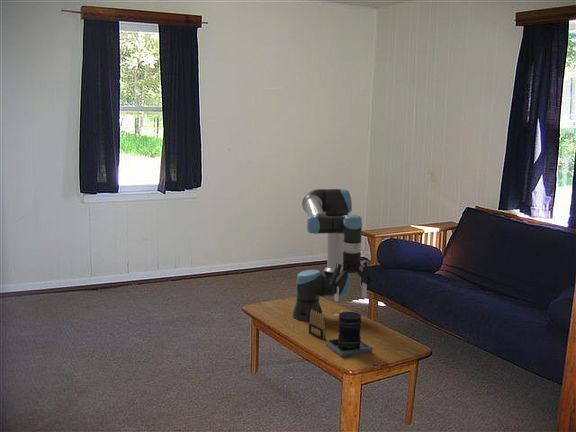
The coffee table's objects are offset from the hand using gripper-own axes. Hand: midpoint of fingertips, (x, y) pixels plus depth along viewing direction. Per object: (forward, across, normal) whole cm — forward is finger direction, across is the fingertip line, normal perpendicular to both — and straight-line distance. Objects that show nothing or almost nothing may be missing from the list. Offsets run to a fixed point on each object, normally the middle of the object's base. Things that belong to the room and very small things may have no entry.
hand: (350, 299), depth 286 cm
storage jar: (+22, 0, 0) cm, 22 cm away
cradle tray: (+23, 0, 0) cm, 23 cm away
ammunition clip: (+23, -6, +20) cm, 31 cm away
